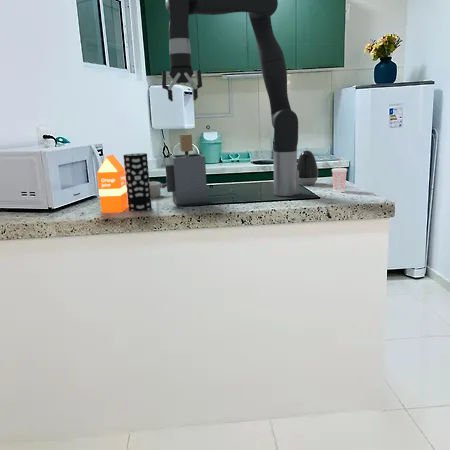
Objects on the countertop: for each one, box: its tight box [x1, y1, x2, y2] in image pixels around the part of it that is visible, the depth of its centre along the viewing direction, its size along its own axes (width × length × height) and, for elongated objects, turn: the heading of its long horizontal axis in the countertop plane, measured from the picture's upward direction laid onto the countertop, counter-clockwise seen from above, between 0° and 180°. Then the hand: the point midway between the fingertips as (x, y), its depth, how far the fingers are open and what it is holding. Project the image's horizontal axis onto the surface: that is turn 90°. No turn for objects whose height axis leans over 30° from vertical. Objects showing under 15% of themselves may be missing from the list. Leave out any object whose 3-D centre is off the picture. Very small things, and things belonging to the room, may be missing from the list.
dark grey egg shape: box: [297, 150, 319, 186], centre depth 198 cm, size 10×10×15 cm
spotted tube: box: [122, 152, 152, 212], centre depth 161 cm, size 8×8×20 cm
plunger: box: [178, 133, 194, 157], centre depth 167 cm, size 9×9×25 cm
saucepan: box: [149, 181, 167, 199], centre depth 188 cm, size 12×20×6 cm, turn 98°
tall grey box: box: [164, 153, 208, 208], centre depth 168 cm, size 14×12×18 cm
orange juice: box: [96, 154, 129, 214], centre depth 162 cm, size 8×9×20 cm
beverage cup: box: [331, 156, 348, 193], centre depth 179 cm, size 6×6×14 cm
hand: (183, 100), depth 161 cm, fingers open, 8 cm apart
